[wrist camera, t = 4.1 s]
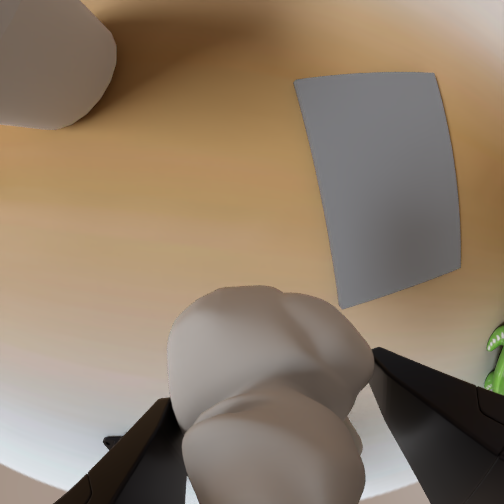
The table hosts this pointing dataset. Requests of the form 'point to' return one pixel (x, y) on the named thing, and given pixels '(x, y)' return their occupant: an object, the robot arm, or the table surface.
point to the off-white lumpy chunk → (268, 397)
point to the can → (51, 62)
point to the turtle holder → (500, 379)
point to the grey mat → (383, 179)
